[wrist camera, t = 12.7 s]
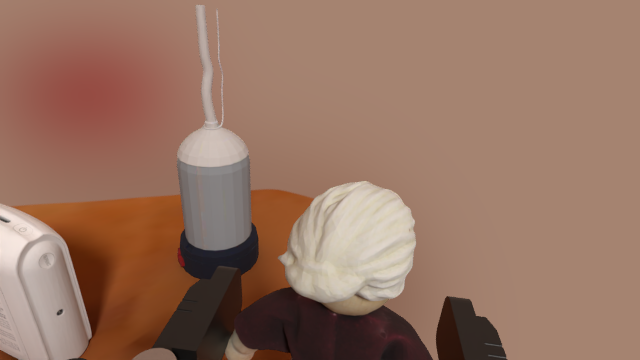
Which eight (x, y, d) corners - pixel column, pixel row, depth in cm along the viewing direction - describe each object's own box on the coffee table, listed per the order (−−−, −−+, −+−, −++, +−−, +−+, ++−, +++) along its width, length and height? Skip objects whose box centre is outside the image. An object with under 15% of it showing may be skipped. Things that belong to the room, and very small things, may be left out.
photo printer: (104, 338, 31) (67, 210, 26) (54, 382, 28) (0, 245, 22) (17, 300, 34) (-33, 178, 29) (-38, 335, 31) (-106, 204, 25)
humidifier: (164, 262, 40) (122, 1, 29) (218, 226, 47) (202, 1, 35) (223, 292, 37) (202, 10, 25) (273, 249, 43) (274, 9, 32)
